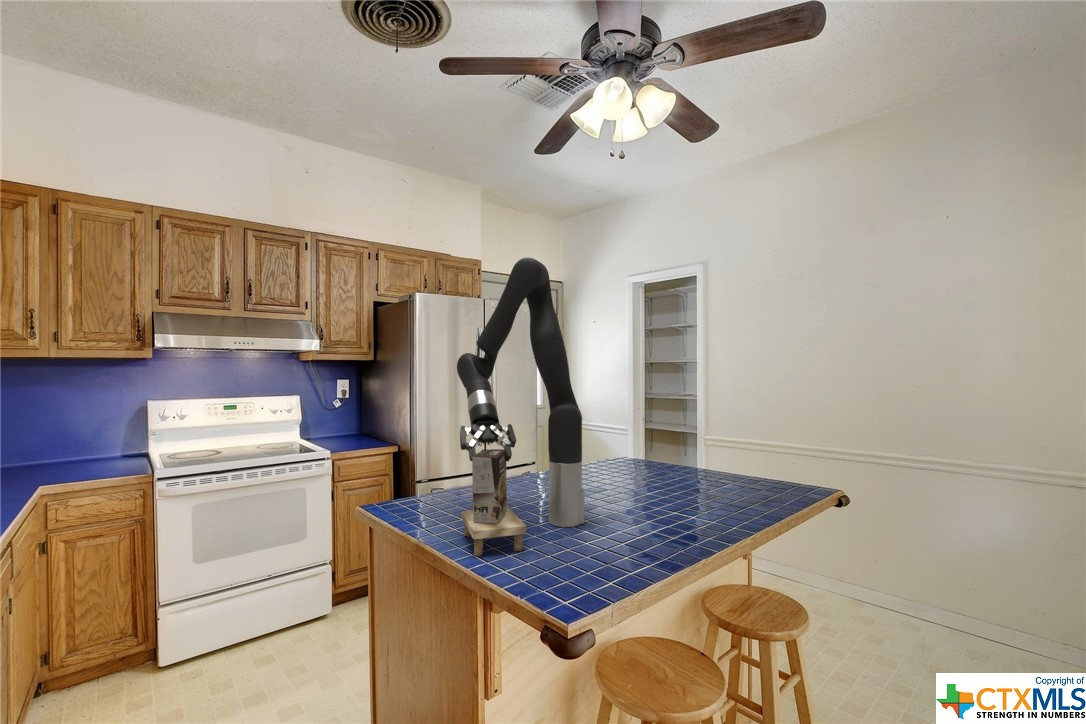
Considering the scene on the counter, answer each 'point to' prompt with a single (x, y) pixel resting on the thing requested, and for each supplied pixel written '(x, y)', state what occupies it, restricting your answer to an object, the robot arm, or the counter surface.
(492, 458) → the coffee box
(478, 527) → the footstool
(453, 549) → the counter surface
